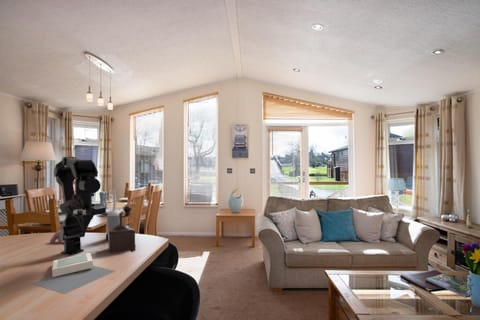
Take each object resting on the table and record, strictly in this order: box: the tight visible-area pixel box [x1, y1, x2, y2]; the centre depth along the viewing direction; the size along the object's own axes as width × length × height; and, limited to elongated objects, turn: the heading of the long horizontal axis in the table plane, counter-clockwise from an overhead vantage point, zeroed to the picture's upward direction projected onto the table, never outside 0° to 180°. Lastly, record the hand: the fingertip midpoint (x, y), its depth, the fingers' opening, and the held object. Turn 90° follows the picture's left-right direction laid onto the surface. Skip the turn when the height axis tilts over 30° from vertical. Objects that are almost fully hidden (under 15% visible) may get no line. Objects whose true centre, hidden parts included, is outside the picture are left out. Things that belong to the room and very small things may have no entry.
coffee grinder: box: [107, 205, 136, 254], centre depth 125 cm, size 16×11×18 cm
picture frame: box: [51, 252, 94, 277], centre depth 100 cm, size 3×12×13 cm
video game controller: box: [49, 230, 63, 244], centre depth 135 cm, size 10×5×7 cm, turn 85°
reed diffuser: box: [105, 189, 122, 242], centre depth 139 cm, size 8×8×25 cm
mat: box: [31, 265, 116, 295], centre depth 92 cm, size 17×18×1 cm
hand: (84, 231), depth 108 cm, fingers closed
